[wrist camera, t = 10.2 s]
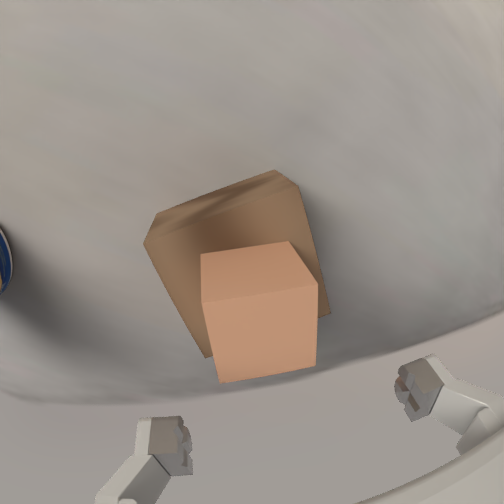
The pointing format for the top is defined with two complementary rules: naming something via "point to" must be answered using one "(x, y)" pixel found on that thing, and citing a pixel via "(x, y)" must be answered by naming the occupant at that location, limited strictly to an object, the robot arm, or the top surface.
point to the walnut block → (228, 239)
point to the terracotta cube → (259, 311)
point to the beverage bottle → (5, 262)
